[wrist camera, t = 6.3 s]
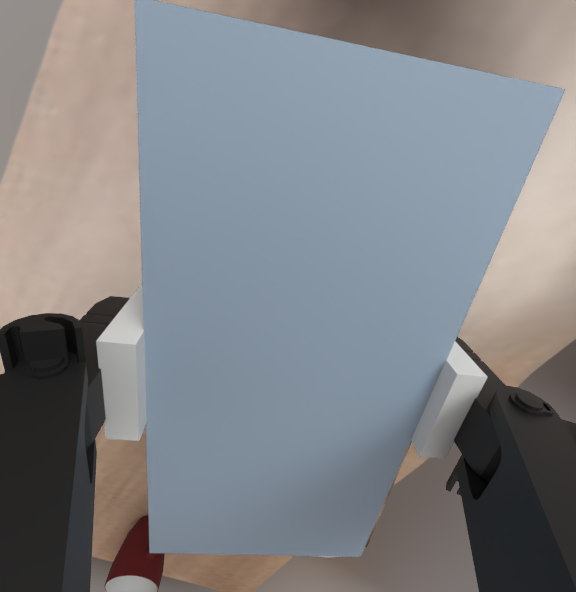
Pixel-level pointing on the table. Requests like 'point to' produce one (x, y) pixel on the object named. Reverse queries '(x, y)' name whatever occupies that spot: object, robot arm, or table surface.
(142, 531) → the mug
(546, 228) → the table surface
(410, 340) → the shelf board
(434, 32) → the table surface
